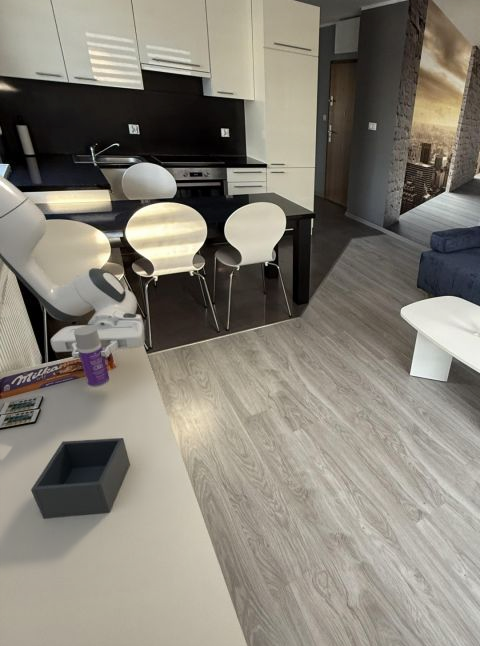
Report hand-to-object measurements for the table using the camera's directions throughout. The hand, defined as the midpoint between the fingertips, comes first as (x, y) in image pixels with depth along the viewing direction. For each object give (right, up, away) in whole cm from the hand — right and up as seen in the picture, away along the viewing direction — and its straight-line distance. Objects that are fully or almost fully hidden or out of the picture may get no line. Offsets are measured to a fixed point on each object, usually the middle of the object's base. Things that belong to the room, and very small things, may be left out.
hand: (90, 355), depth 95 cm
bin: (+10, -25, -15) cm, 31 cm away
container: (-1, -7, +5) cm, 9 cm away
